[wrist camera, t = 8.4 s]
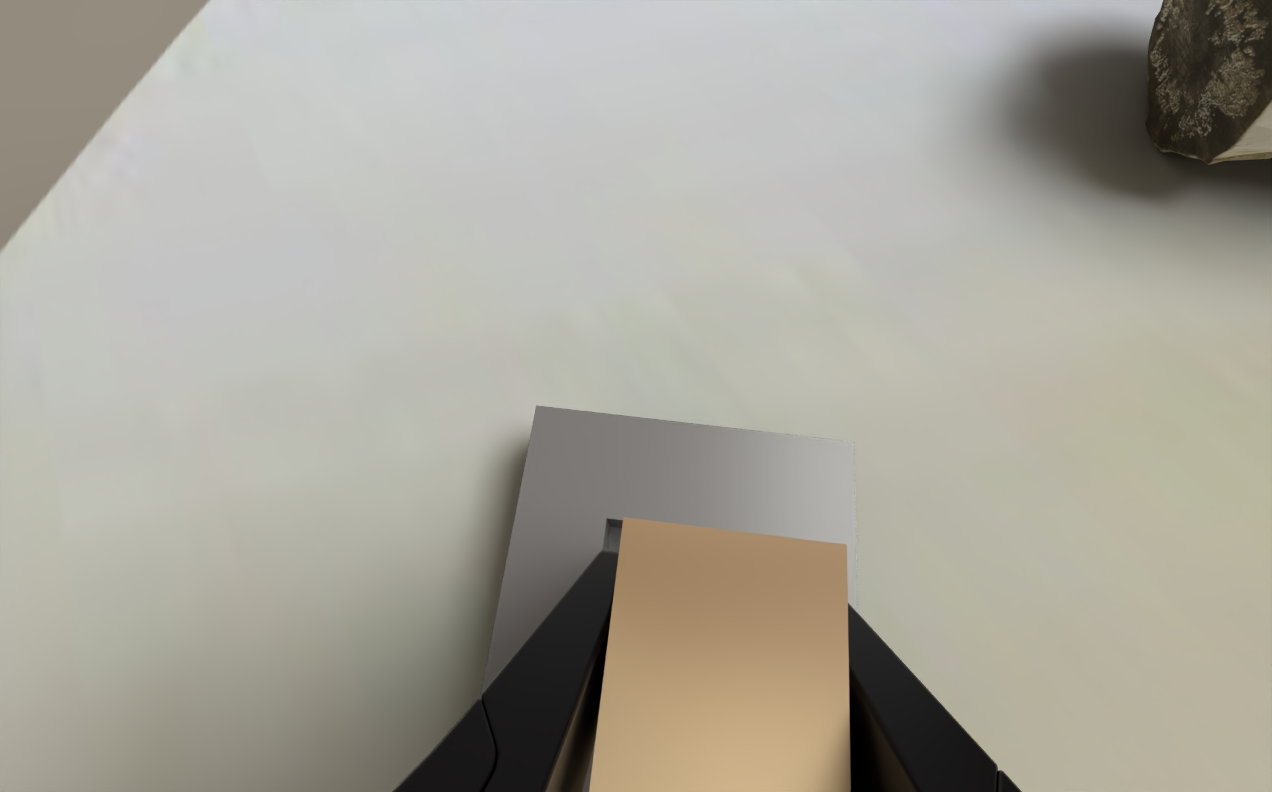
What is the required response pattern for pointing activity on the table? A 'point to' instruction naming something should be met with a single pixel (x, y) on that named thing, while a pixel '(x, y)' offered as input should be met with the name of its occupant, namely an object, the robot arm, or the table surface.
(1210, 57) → the hollow geode rock
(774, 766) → the tan wooden block
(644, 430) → the end cap
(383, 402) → the table surface
